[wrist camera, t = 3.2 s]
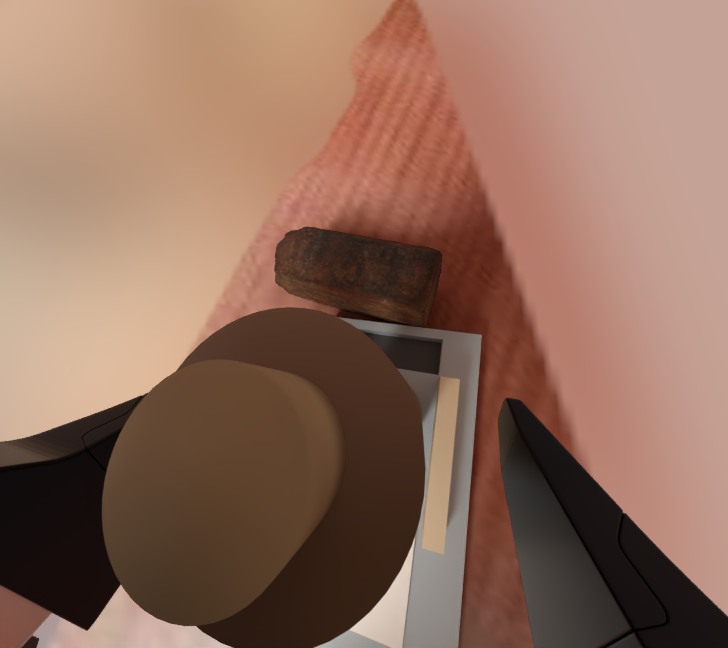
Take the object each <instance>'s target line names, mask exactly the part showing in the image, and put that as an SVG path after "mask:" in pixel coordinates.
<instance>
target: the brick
mask: <svg viewBox="0 0 728 648" xmlns="http://www.w3.org/2000/svg"><path fill="white" fill-rule="evenodd" d="M275 258H276V260H275V269H274V270H275V273H276V276H275V277H276V279H275V282H276V283H277V284H278V285H279V286H280V287H282V288H284V289H285V290H286V291H287V292H288V293H290V294H292V295H295V296H298V297H301V298H304V299H307V300H311V301H313V302H317V303H320V304H324V305H327V306H331V307H335V308H338V309H342V310H345V311H349V312H354V313H357V314H360V315H364V316H368V317H372V318H375V319H379V320H382V321H386V322H390V323H394V324H398V325H405V326H414V327H422V328H426V325H427V322H428V318H429V315H430V312H431V308H432V305H433V302H434V298H435V295H436V291H437V287H438V281H439V277H440V273H441V261H442V254H441V252H440V251H437V250H434V249H432V248H428V247H422V246H414V245H408V244H404V243H399V242H395V241H387V240H381V239H375V238H370V237H365V236H359V235H353V234H347V233H342V232H337V231H331V230H325V229H319V228H315V227H303V228H302V229H299V230H294V231H290V232H288V233H286V234H285V237H284V238H283V240H281V241H280V242H279V243H278V244H277V247H276V253H275Z"/></svg>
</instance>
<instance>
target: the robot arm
mask: <svg viewBox="0 0 728 648" xmlns="http://www.w3.org/2000/svg"><path fill="white" fill-rule="evenodd" d="M147 394H148V393H146V394H145V395H143V396H139V397H137V398H134V399H132V400H129V401H127V402H124V403H122V404H119V405H116V406H114V407H111V408H109V409H106V410H104V411H101V412H98V413H95V414H92V415H90V416H87V417H84V418H81V419H79V420H76V421H73V422H70V423H68V424H65V425H62V426H59V427H56V428H53V429H51V430H48V431H45V432H42V433H40V434H36V435H33V436H30V437H26V438H22V439H17V440H12V441H4V442H0V648H36V647H37V644H38V641H39V638H37V637H36V636H34V635H33V634H34V633H35V632H36V631H37V629H38V628H39V627H40V626H41V625H42V624H43V622H45V620H46V619H47V618H48V617H49V616H50V615H51V614H52V613H54V614H56V615H58V616H59V617H61V618H63V619H65V620H67V621H69V622H71V623H73V624H75V625H77V626H78V627H80V628H82V629H84V630H86V631H87V630H89V628H90V627H91V626H92V625H93V623H94V622H95V621H96V619H97V618H98V617H99V615H100V614H101V612H102V611H103V609H104V608H105V606H106V605H107V603H108V602H109V601H110V599H111V598H112V596H113V595H114V593H115V592H116V590H117V589H118V588H119V586H120V585H121V583H120V582H119V580H118V578H117V576H116V575H115V572H114V570H113V567H112V565H111V563H110V560H109V557H108V553H107V549H106V546H105V540H104V534H103V526H102V496H103V489H104V481H105V476H106V472H107V468H108V464H109V460H110V457H111V454H112V451H113V448H114V446H115V444H116V441H117V439H118V437H119V434H120V433H121V431H122V429H123V427H124V425H125V423H126V421H127V420H128V418H129V417H130V415H131V414H132V412H133V411H134V409H135V408H136V407H137V405H138V404H139V403H140V402H141V401H142V399H143V398H144V397H145V396H146V395H147ZM498 430H499V445H500V461H501V471H502V478H503V483H504V489H505V494H506V499H507V505H508V510H509V515H510V521H511V526H512V532H513V537H514V542H515V548H516V553H517V558H518V564H519V569H520V574H521V580H522V585H523V590H524V596H525V601H526V607H527V612H528V617H529V623H530V628H531V633H532V639H533V644H534V648H728V616H727V615H726V614H724V612H723V611H721V609H719V608H718V607H717V606H716V605H715V604H714V603H713V602H712V601H711V600H710V599H709V598H708V597H707V596H706V595H705V594H704V593H703V592H702V591H701V590H700V589H699V588H698V587H697V586H696V585H695V584H694V583H693V582H691V580H690V579H689V578H688V577H687V576H686V575H685V574H684V573H683V572H682V571H681V570H679V568H678V567H677V566H676V565H675V564H673V562H672V561H671V560H670V559H669V558H668V557H667V556H665V554H664V553H663V552H662V551H661V550H660V549H659V548H658V547H657V546H656V545H655V544H654V543H653V542H652V541H651V540H650V539H649V538H648V537H647V536H646V534H644V532H643V531H642V530H641V529H640V528H639V527H638V526H637V525H636V524H635V523H634V522H633V521H632V520H631V518H630V517H629V516H628V515H627V514H625V513H623V510H622V509H621V508H620V507H619V506H618V505H617V504H616V502H615V501H614V500H613V499H612V498H611V497H610V496H609V495H608V494H607V493H606V492H605V491H604V490H603V488H602V487H601V486H600V485H599V484H598V483H597V482H596V481H595V480H594V479H593V478H592V477H591V476H590V474H589V473H588V472H587V471H586V470H585V469H584V468H583V467H582V466H581V465H580V464H579V463H578V462H577V460H576V459H575V458H574V457H573V456H572V455H571V454H570V453H569V452H568V451H567V450H566V449H565V448H564V446H563V445H562V444H561V443H560V442H559V441H558V440H557V439H556V438H555V437H554V436H553V435H552V434H551V432H550V431H549V430H548V429H547V428H546V427H545V426H544V425H543V424H542V423H541V422H540V421H539V420H538V418H537V417H536V416H535V415H534V414H533V413H532V412H531V411H530V410H529V409H528V408H527V407H526V406H525V404H524V403H523V402H522V401H520V400H518V399H512V398H506V399H505V400H504V402H503V405H502V408H501V410H500V413H499V417H498Z"/></svg>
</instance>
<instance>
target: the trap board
mask: <svg viewBox="0 0 728 648" xmlns="http://www.w3.org/2000/svg"><path fill="white" fill-rule="evenodd" d="M338 318H340V317H338ZM340 319H342V320H344V321H346V322H348V323H350V324H351V325H353V326H354V327H356V328H357V329H359V330H360V331H362V332H363V333H364V334H366V335H367V336H368V337H369V338H370V339H371V340H372V341H374V342H375V343H376V344H377V345H378V346H379V347H380V348H381V349H382V351H383V352H384V353H385V354H386V355H387V357H388V358H389V359H390V360H391V361H392V363H393V364H394V365H395V367H396V368H397V369H398V371H399V372H400V373H401V375H402V376H403V377H404V379H405V380H406V382H407V383H408V384H409V386H410V387H411V388H412V390H413V391H414V392H415V394H416V396H417V398H418V400H419V402H420V406H421V412H422V426H423V439H424V453H425V468H426V471H425V491H424V499H423V505H422V511H421V516H420V521H419V525H418V528H417V531H416V534H415V538H414V541H413V544H412V547H411V549H410V551H409V553H408V556H407V558H406V560H405V562H404V564H403V567H402V569H401V571H400V572H399V574H398V576H397V577H396V579H395V580H394V582H393V583H392V585H391V587H390V588H389V590H388V591H387V593H386V594H385V595H384V596H383V597H382V599H381V600H380V601H379V602H378V603H377V604H376V606H375V607H374V608H373V609H372V610H371V611H370V613H368V614H367V615H366V616H365V617H364V618H363V619H361V620H360V621H359V622H358V623H357V624H356V625H354V626H353V627H352V628H351V629H349V630H348V631H346V632H345V633H343V634H341V635H340V636H338V637H336V638H335V639H333V640H331V641H330V642H327V643H325V644H322V645H320V646H317V647H314V648H458V643H459V629H460V616H461V603H462V590H463V577H464V563H465V550H466V537H467V524H468V511H469V498H470V484H471V471H472V458H473V445H474V432H475V418H476V405H477V392H478V379H479V366H480V353H481V339H482V335H479V334H471V333H463V332H455V331H446V330H438V329H430V328H422V327H414V326H405V325H397V324H389V323H381V322H373V321H364V320H356V319H348V318H340Z"/></svg>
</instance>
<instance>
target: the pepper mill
mask: <svg viewBox="0 0 728 648" xmlns="http://www.w3.org/2000/svg"><path fill="white" fill-rule="evenodd" d="M425 471H426V468H425V453H424V439H423V426H422V412H421V406H420V402H419V400H418V398H417V396H416V394H415V392H414V391H413V390H412V388H411V387H410V386H409V384H408V383H407V382H406V380H405V379H404V377H403V376H402V375H401V373H400V372H399V371H398V369H397V368H396V367H395V365H394V364H393V363H392V361H391V360H390V359H389V358H388V357H387V355H386V354H385V353H384V352H383V351H382V349H381V348H380V347H379V346H378V345H377V344H376V343H375V342H374V341H372V340H371V339H370V338H369V337H368V336H367V335H366V334H364V333H363V332H362V331H360V330H359V329H357V328H356V327H354V326H353V325H351V324H350V323H348V322H346V321H344V320H342V319H340V318H338V317H336V316H333V315H330V314H327V313H324V312H321V311H316V310H311V309H306V308H290V307H287V308H275V309H269V310H264V311H260V312H256V313H253V314H250V315H247V316H244V317H242V318H239V319H237V320H235V321H233V322H231V323H229V324H227V325H226V326H224V327H223V328H221V329H220V330H218V331H216V332H215V333H213V334H212V335H211V336H210V337H208V338H207V339H206V340H205V341H204V342H202V343H201V344H200V345H199V346H198V347H197V348H196V349H195V350H194V351H193V352H192V353H191V354H190V355H189V356H188V357H187V358H186V359H185V361H184V362H183V363H182V364H181V366H180V367H179V368H178V369H177V371H176V372H174V373H173V374H171V375H170V376H168V377H167V378H165V379H164V380H162V381H161V382H160V383H159V384H158V385H156V386H155V387H154V388H153V389H152V390H151V391H150V392H149V393H148V394H147V395H146V396H145V397H144V398H143V399H142V401H141V402H140V403H139V404H138V405H137V407H136V408H135V409H134V411H133V412H132V414H131V415H130V417H129V418H128V420H127V421H126V423H125V425H124V427H123V429H122V431H121V433H120V434H119V437H118V439H117V441H116V444H115V446H114V448H113V451H112V454H111V457H110V460H109V464H108V468H107V472H106V476H105V481H104V489H103V496H102V526H103V534H104V540H105V546H106V549H107V553H108V557H109V560H110V563H111V565H112V567H113V570H114V572H115V575H116V576H117V578H118V580H119V582H120V583H121V585H122V587H123V588H124V590H125V591H126V592H127V593H128V595H129V596H130V597H131V599H132V600H133V601H134V602H135V603H136V604H138V605H139V606H140V607H141V608H142V609H143V610H144V611H146V612H148V613H149V614H151V615H152V616H154V617H156V618H158V619H160V620H163V621H165V622H168V623H171V624H177V625H182V626H197V627H198V628H199V629H200V630H201V631H202V632H204V633H206V634H207V635H209V636H211V637H212V638H214V639H216V640H217V641H219V642H220V643H223V644H225V645H228V646H231V647H233V648H314V647H317V646H320V645H322V644H325V643H327V642H330V641H331V640H333V639H335V638H336V637H338V636H340V635H341V634H343V633H345V632H346V631H348V630H349V629H351V628H352V627H353V626H354V625H356V624H357V623H358V622H359V621H360V620H361V619H363V618H364V617H365V616H366V615H367V614H368V613H370V611H371V610H372V609H373V608H374V607H375V606H376V604H377V603H378V602H379V601H380V600H381V599H382V597H383V596H384V595H385V594H386V593H387V591H388V590H389V588H390V587H391V585H392V583H393V582H394V580H395V579H396V577H397V576H398V574H399V572H400V571H401V569H402V567H403V564H404V562H405V560H406V558H407V556H408V553H409V551H410V549H411V547H412V544H413V541H414V538H415V534H416V531H417V528H418V525H419V521H420V516H421V511H422V505H423V499H424V491H425Z"/></svg>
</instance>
